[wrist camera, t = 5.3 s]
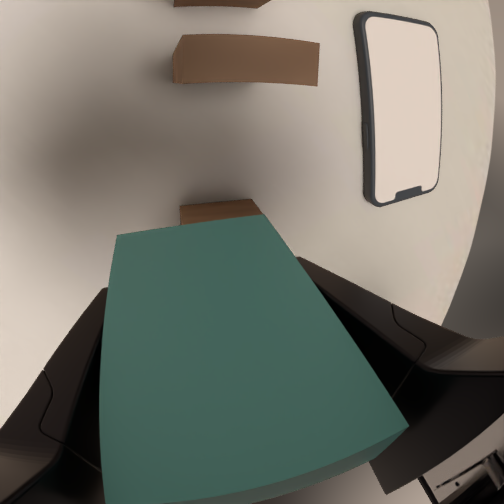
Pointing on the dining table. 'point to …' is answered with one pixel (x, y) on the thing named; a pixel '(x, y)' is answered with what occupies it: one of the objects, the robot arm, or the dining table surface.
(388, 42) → the smartphone with white screen
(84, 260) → the dining table surface
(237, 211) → the domino
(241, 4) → the domino
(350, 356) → the domino
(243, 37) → the domino
